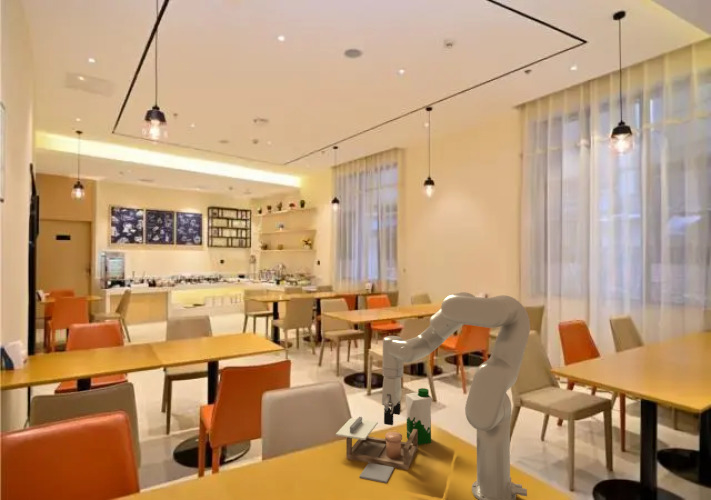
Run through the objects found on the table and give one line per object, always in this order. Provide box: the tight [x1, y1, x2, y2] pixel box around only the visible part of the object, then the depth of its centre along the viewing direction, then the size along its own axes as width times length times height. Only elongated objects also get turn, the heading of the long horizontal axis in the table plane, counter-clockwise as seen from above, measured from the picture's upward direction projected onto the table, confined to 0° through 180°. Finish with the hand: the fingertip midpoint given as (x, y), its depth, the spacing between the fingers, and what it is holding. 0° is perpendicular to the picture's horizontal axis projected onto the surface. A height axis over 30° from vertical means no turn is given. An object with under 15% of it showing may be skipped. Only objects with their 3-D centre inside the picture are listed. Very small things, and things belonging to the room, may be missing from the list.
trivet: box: [359, 462, 395, 484], centre depth 131 cm, size 9×9×2 cm
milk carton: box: [405, 387, 433, 446], centre depth 155 cm, size 9×9×20 cm
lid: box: [335, 416, 379, 440], centre depth 148 cm, size 11×15×3 cm
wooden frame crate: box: [345, 429, 419, 471], centre depth 145 cm, size 22×16×8 cm
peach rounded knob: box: [384, 431, 403, 459], centre depth 143 cm, size 6×6×7 cm
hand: (392, 419), depth 144 cm, fingers open, 9 cm apart
